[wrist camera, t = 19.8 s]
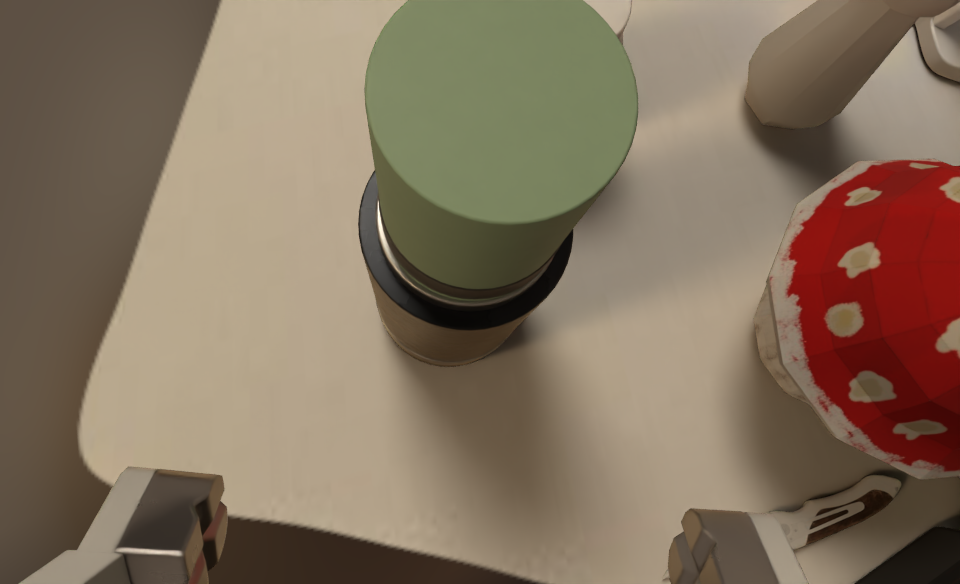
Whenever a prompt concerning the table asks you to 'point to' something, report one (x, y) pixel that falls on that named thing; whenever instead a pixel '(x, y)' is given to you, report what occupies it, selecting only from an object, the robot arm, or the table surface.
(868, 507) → the pocket knife
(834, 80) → the salt shaker
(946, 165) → the decorative mushroom
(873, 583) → the battery
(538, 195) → the green cylinder
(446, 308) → the flask
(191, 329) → the table surface
